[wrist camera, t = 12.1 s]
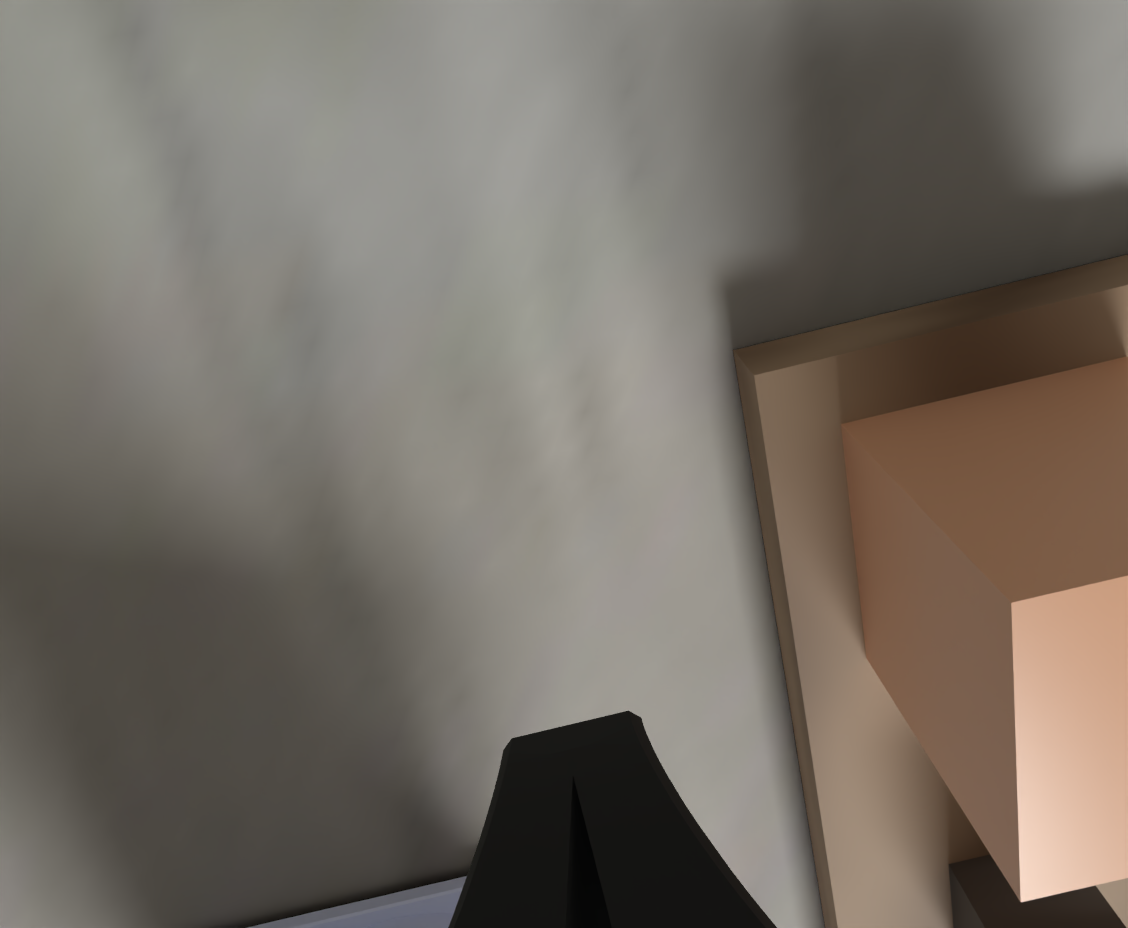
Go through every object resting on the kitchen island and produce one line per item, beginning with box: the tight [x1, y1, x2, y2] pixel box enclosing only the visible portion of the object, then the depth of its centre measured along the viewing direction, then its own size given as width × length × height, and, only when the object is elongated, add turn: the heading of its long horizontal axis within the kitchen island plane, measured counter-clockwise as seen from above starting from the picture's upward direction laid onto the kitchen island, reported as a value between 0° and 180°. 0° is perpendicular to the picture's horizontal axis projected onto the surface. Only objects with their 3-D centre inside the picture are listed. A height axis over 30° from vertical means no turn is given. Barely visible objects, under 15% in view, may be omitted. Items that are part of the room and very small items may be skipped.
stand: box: [733, 254, 1128, 928], centre depth 19 cm, size 8×18×6 cm, turn 13°
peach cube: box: [841, 357, 1128, 902], centre depth 15 cm, size 5×5×6 cm
